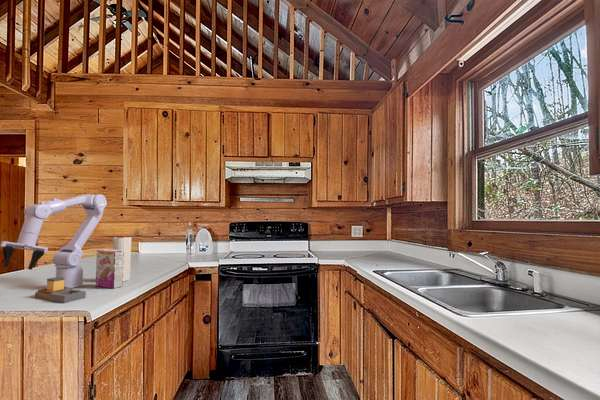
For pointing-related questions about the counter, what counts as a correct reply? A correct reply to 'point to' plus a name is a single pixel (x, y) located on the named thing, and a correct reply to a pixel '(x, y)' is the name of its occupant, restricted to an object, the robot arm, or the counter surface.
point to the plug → (55, 284)
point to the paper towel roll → (125, 246)
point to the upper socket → (47, 293)
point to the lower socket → (67, 295)
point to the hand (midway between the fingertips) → (18, 268)
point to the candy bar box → (109, 268)
